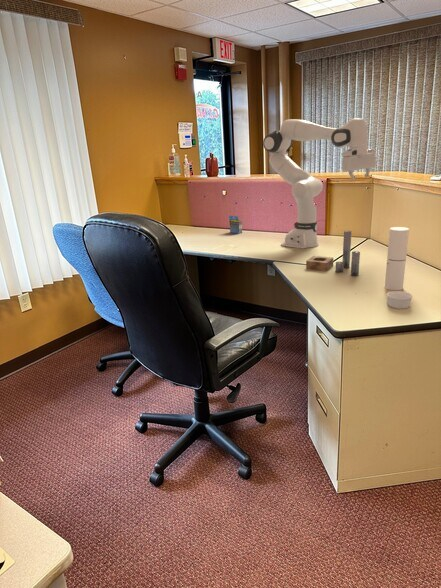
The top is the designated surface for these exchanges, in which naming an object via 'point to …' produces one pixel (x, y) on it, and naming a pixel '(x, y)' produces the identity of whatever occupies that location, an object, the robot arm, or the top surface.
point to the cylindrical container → (396, 258)
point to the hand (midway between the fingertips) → (360, 178)
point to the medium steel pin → (355, 263)
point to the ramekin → (399, 299)
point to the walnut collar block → (319, 263)
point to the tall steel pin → (346, 249)
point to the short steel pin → (339, 267)
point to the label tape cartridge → (235, 225)
